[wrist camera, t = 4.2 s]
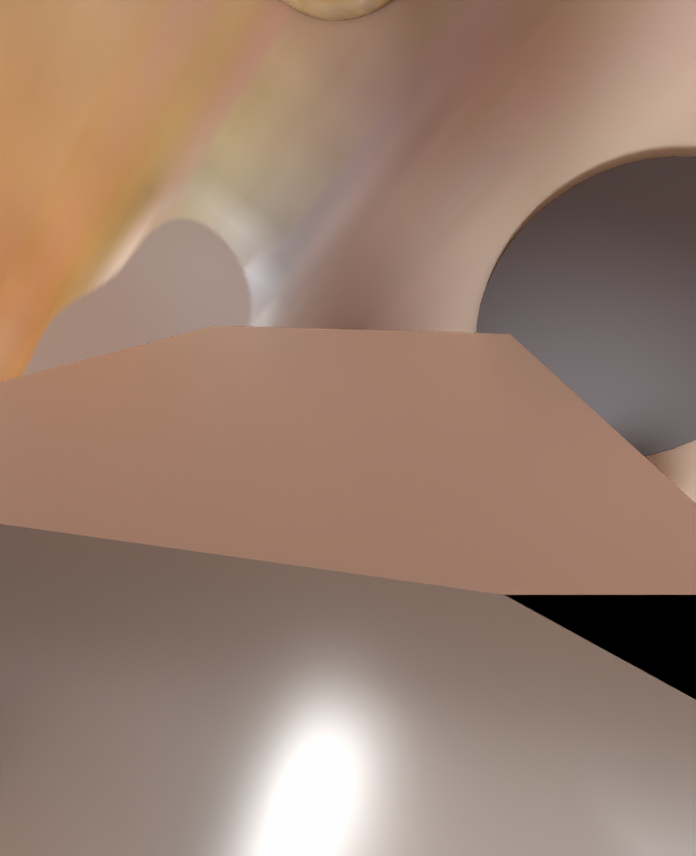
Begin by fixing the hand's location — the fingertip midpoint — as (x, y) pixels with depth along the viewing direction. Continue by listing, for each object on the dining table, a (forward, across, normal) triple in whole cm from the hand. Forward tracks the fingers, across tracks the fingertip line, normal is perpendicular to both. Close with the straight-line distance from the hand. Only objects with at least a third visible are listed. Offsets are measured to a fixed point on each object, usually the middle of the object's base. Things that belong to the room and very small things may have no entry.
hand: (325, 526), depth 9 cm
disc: (+12, -10, -3) cm, 16 cm away
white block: (+3, 0, 0) cm, 3 cm away
